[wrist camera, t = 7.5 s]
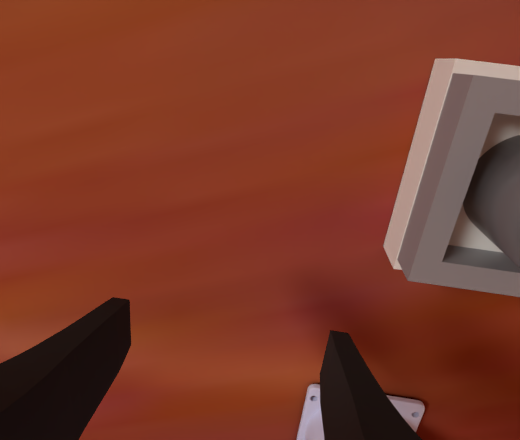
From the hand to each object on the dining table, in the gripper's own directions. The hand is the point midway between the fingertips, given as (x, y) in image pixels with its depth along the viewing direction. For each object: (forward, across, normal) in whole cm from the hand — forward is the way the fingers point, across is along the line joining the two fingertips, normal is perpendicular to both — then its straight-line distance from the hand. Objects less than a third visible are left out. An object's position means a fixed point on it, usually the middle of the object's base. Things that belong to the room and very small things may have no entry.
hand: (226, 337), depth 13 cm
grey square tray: (+9, -12, -5) cm, 16 cm away
